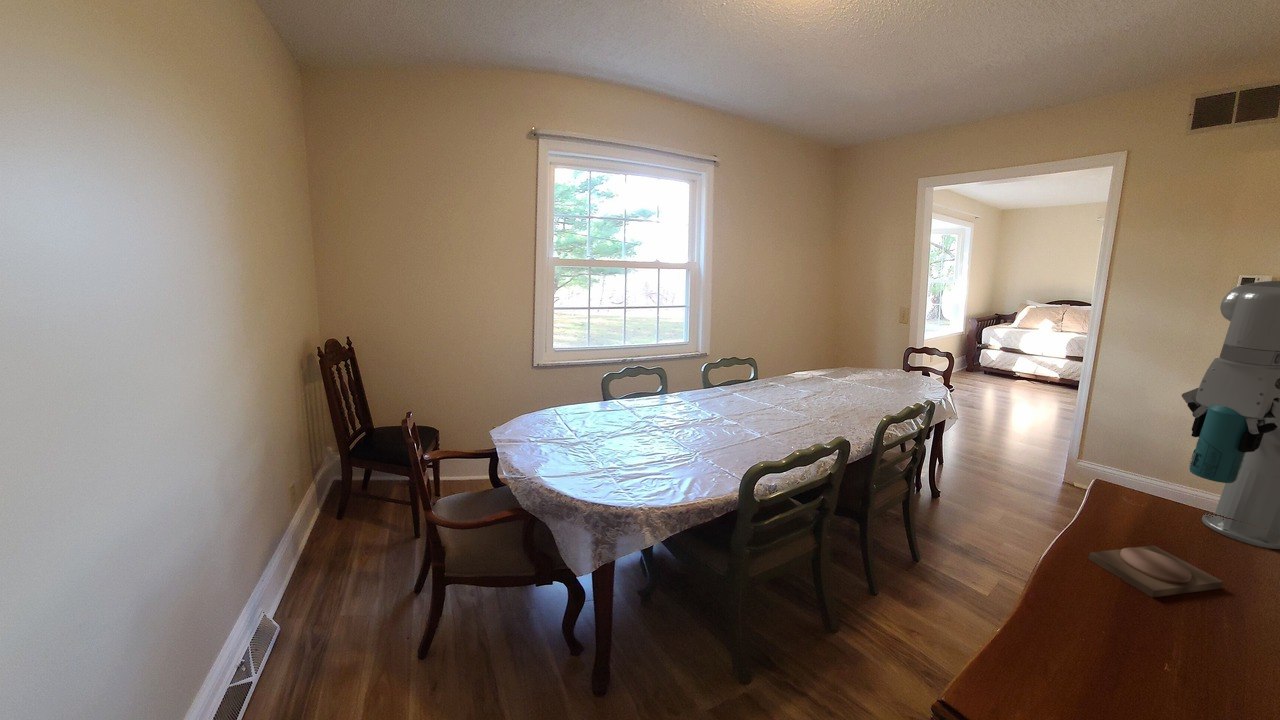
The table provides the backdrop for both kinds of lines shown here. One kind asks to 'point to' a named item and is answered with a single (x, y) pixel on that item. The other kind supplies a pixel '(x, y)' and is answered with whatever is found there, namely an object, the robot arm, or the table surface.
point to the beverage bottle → (1219, 445)
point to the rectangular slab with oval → (1155, 571)
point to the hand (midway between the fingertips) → (1221, 442)
